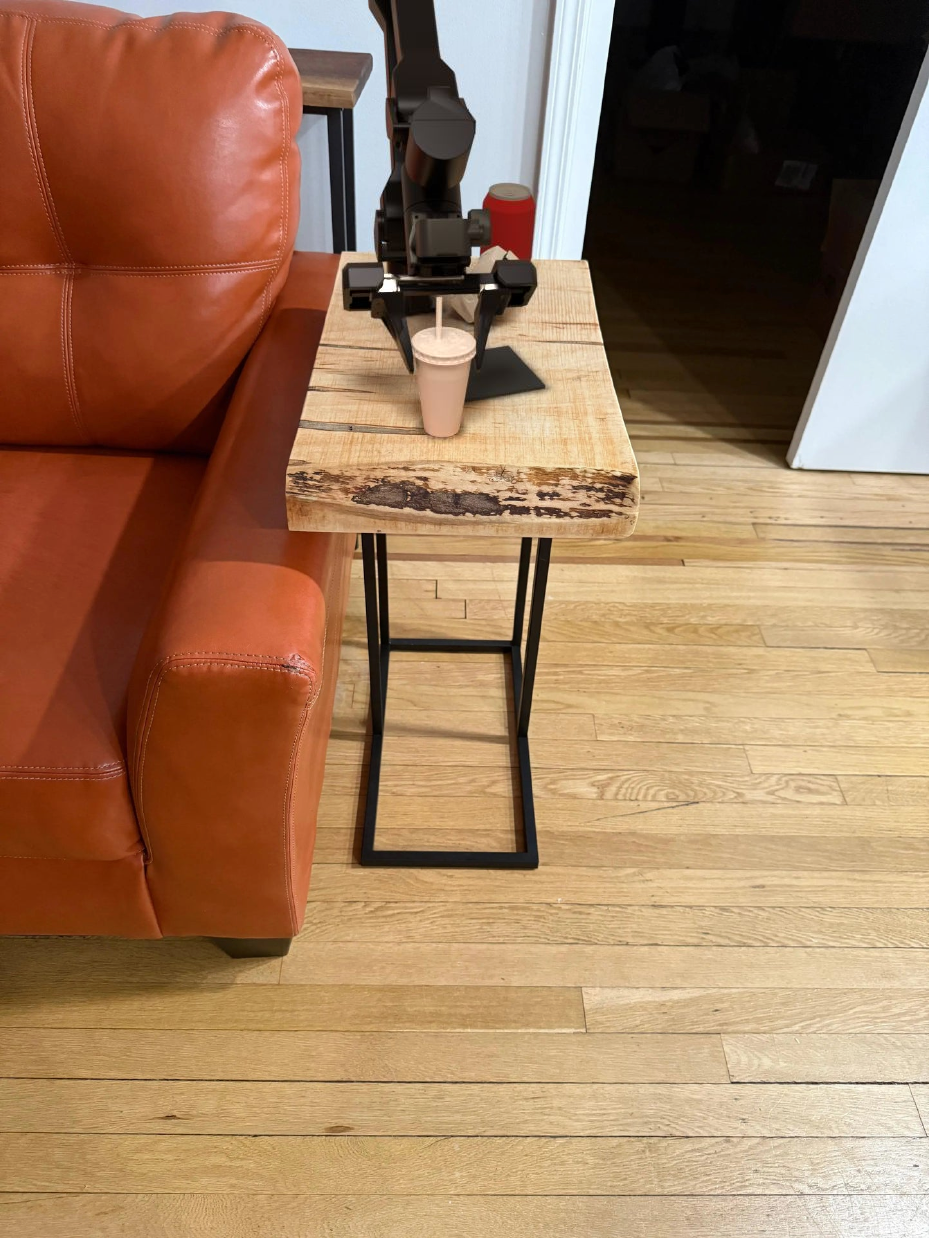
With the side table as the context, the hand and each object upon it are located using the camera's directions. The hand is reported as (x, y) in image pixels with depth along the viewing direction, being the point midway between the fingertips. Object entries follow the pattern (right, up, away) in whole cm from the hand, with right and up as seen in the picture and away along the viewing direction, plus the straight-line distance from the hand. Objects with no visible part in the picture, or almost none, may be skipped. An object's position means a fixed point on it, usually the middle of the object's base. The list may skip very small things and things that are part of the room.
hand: (444, 372), depth 90 cm
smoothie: (0, -4, +6) cm, 7 cm away
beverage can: (+7, +20, +33) cm, 39 cm away
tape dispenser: (+4, +13, +25) cm, 29 cm away
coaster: (+4, +4, +15) cm, 16 cm away
